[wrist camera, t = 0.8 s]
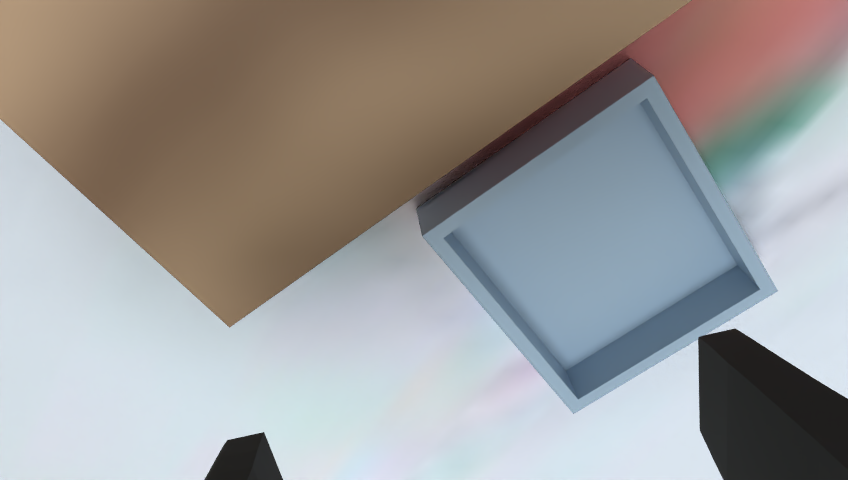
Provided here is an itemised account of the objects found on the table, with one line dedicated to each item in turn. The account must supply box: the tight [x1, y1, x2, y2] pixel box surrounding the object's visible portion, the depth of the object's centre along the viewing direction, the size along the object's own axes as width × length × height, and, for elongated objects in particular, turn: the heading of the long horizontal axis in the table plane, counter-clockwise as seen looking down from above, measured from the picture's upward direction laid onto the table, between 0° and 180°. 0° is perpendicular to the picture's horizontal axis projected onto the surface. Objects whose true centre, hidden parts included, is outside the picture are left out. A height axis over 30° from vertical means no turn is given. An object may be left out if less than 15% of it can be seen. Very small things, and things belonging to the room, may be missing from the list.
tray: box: [416, 58, 778, 414], centre depth 21 cm, size 8×7×2 cm
